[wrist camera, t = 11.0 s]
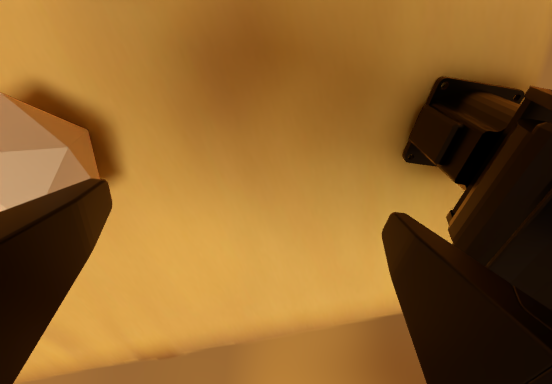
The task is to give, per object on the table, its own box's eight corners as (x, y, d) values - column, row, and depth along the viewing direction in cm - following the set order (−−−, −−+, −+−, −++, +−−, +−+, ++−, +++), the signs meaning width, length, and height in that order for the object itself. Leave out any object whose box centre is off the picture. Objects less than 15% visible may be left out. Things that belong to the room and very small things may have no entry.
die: (22, 181, 24) (36, 279, 19) (-124, 113, 16) (-155, 248, 12) (107, 132, 25) (139, 215, 20) (7, 44, 17) (23, 148, 13)
